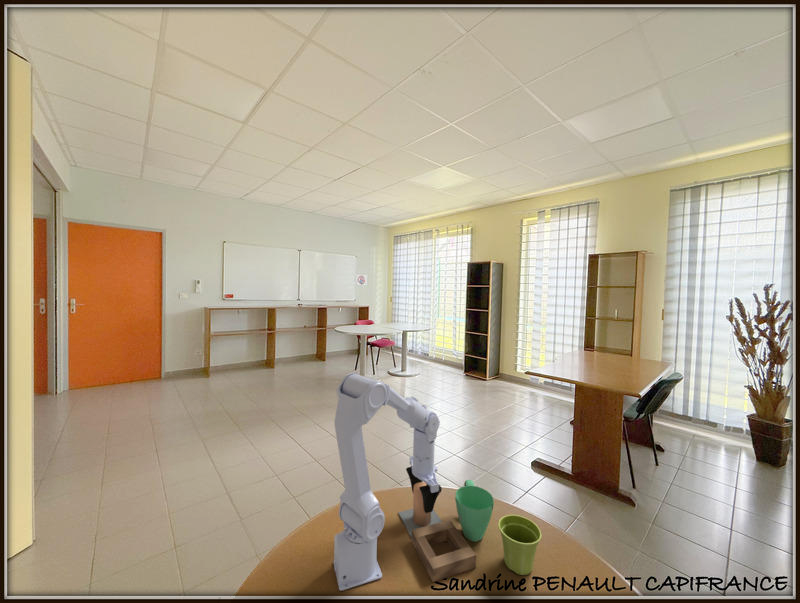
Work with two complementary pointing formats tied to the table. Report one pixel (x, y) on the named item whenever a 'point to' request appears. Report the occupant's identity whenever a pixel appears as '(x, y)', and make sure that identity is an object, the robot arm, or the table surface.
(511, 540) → the plant pot
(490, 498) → the mug
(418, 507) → the peach rounded cylinder
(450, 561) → the holder
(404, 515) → the mat
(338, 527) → the table surface
